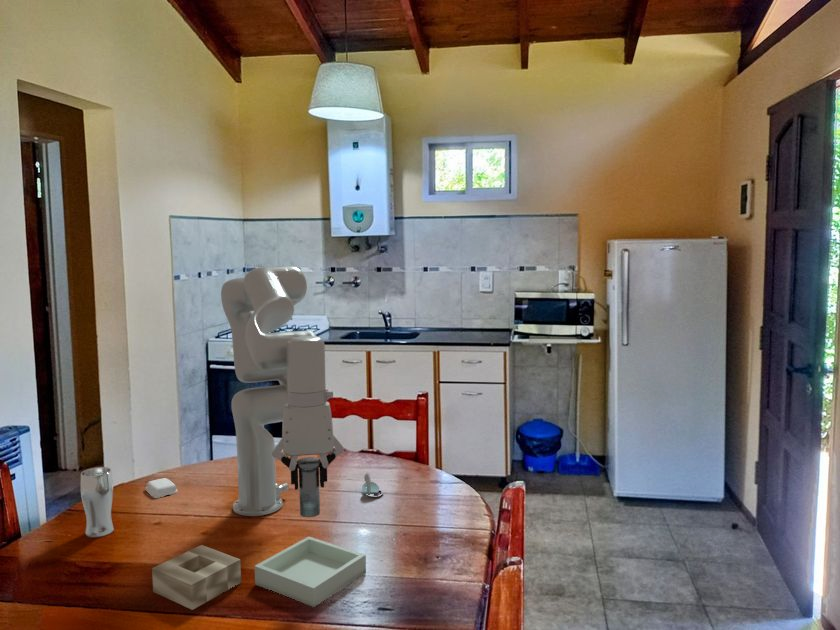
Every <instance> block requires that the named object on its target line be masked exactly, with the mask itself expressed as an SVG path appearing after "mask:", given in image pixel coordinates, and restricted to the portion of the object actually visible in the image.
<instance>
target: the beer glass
mask: <svg viewBox="0 0 840 630" xmlns="http://www.w3.org/2000/svg"><path fill="white" fill-rule="evenodd" d="M80 497H81V502H82V505H83V509H84V510H83V511H84V513H85V517H86V528H85V536H87V537H88V538H101V537H104V536H107V535H110V534H111V533H113V531H114V529H115V528H114V525H113V520H112V506H113V497H114V481H113V475H112V469H111V468H110V467H106V466H98V467H96V466H95V467H91V468H87V469H85V470H83V471H82V472H81V473H80Z"/></svg>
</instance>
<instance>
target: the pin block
mask: <svg viewBox="0 0 840 630" xmlns="http://www.w3.org/2000/svg"><path fill="white" fill-rule="evenodd" d="M241 567H242V565H241V559H240V558H238V557H235V556H232V555H229V554H227V553H224V552H221V551H219V550H216V549H214V548H211V547H208V546H205V545H203V544H201V545H199V546H196V547H194V548H192V549H189V550H187V551H186V552H182V553H181V554H180V555H177V556H175V557H173V558H170V559H168V560H167V561H164V562H162V563H160V564H157V565H156V566H154V567H152V568H151V574H152V592H153V593H155V594H157V595H160V596H162V597H163V598H165V599H168V600H170V601H172V602H174V603H176V604H179V605H181V606H183V607H185V608H188V609H189V610H191V611H193V610H195V609H197V608H199V607H200V606H202V605H204V604H206V603H207V602H209V601H211V600H213V599H215V598H217V597H219V596H220V595H222V594H223V592H224V593H225V592H227V591H229V590H230V588H231V589H232V587H233V588H235V587H236V586H238V585H240V584H241V583H242V571H241V569H242V568H241ZM235 585H236V586H235Z"/></svg>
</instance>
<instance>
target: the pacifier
mask: <svg viewBox="0 0 840 630" xmlns="http://www.w3.org/2000/svg"><path fill="white" fill-rule="evenodd" d="M364 481H365V483H363V484H362V487H361V489H362V491H361V492H360V493H361V495H366V494H368V495H370V494H374V493H375V494H379V493H380V492H379V489H380V487H379V485H378V484H377V483H376V482H373V481H372V480H371V476H370V473H369V472H366V473H365V474H364Z"/></svg>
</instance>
